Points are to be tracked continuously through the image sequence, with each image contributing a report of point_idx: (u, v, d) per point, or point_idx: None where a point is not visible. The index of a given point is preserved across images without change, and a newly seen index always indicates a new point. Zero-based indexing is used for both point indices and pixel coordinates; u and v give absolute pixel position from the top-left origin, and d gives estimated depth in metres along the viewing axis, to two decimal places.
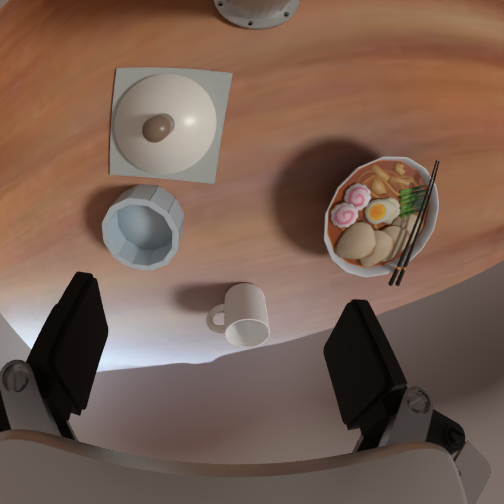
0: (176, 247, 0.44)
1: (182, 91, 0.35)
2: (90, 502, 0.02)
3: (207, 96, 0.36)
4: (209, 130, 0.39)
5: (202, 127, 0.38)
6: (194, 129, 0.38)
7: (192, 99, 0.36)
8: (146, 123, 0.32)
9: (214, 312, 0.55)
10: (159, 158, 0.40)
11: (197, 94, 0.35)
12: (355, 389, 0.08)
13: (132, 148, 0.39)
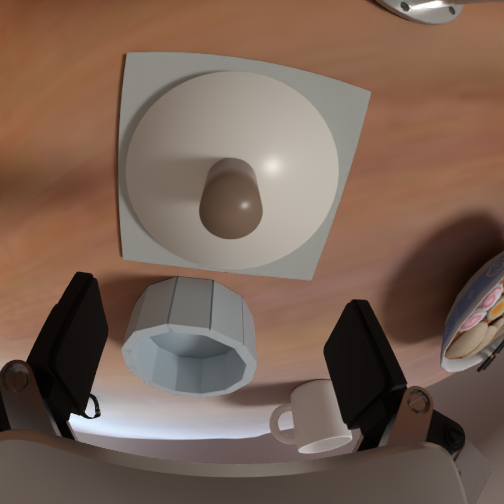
0: (249, 379, 0.27)
1: (278, 115, 0.17)
2: (90, 502, 0.02)
3: (327, 132, 0.18)
4: (323, 198, 0.21)
5: (311, 192, 0.21)
6: (295, 195, 0.21)
7: (296, 133, 0.18)
8: (210, 195, 0.15)
9: (279, 415, 0.39)
10: (222, 243, 0.23)
11: (308, 125, 0.18)
12: (355, 389, 0.08)
13: (166, 222, 0.21)
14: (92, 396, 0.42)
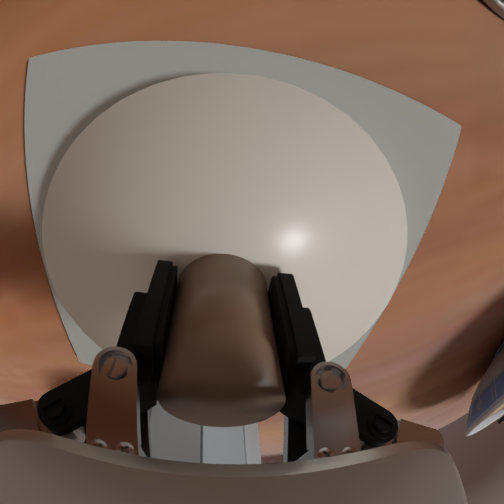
0: None
1: (314, 170, 0.09)
2: (90, 502, 0.02)
3: (398, 200, 0.10)
4: (373, 304, 0.12)
5: (356, 298, 0.12)
6: (331, 304, 0.12)
7: (346, 206, 0.10)
8: (175, 388, 0.06)
9: None
10: None
11: (369, 189, 0.09)
12: None
13: None
14: None
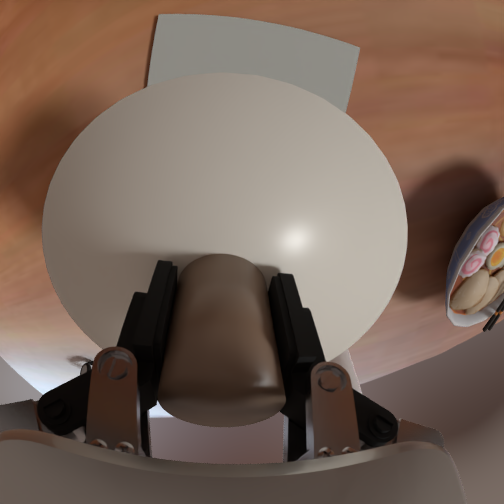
0: None
1: (314, 171, 0.09)
2: (90, 502, 0.02)
3: (399, 200, 0.10)
4: (373, 304, 0.12)
5: (356, 298, 0.12)
6: (331, 304, 0.12)
7: (346, 206, 0.10)
8: (176, 388, 0.06)
9: None
10: None
11: (369, 189, 0.09)
12: None
13: None
14: None
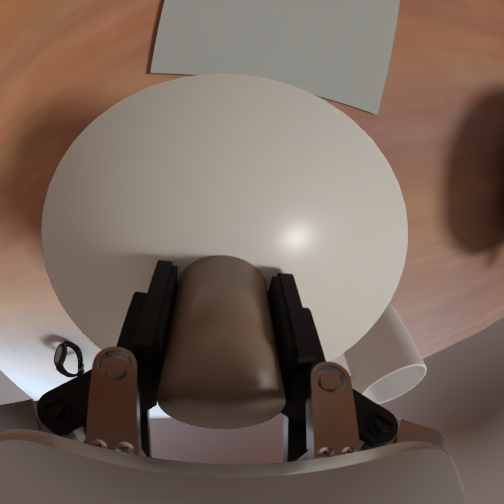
0: None
1: (314, 172, 0.09)
2: (90, 502, 0.02)
3: (399, 202, 0.09)
4: (373, 305, 0.12)
5: (356, 299, 0.12)
6: (331, 306, 0.12)
7: (346, 208, 0.09)
8: (175, 390, 0.06)
9: None
10: None
11: (369, 190, 0.09)
12: None
13: None
14: (75, 347, 0.34)
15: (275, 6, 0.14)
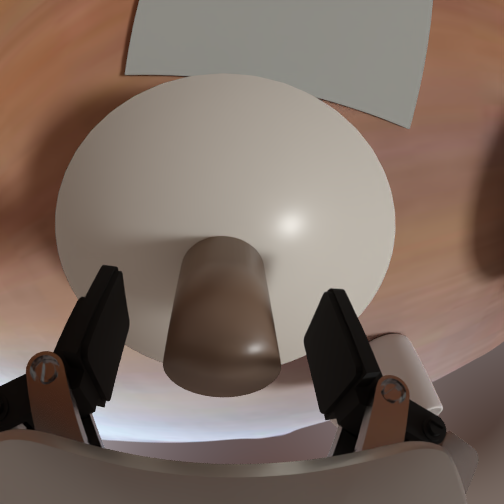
0: None
1: (305, 160, 0.10)
2: (90, 502, 0.02)
3: (385, 188, 0.10)
4: (365, 287, 0.13)
5: (348, 281, 0.13)
6: (325, 286, 0.13)
7: (336, 192, 0.10)
8: (180, 351, 0.07)
9: None
10: None
11: (356, 177, 0.10)
12: (330, 378, 0.09)
13: None
14: None
15: None
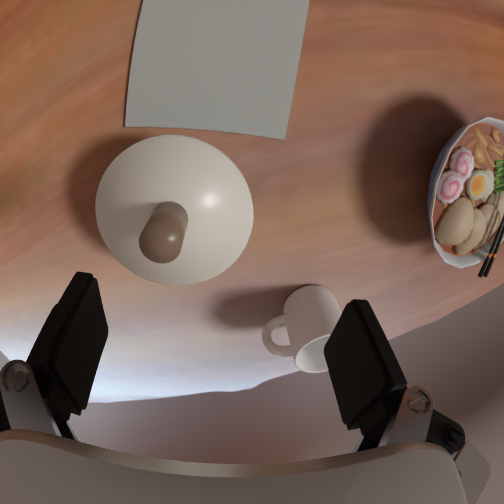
0: None
1: (198, 166, 0.24)
2: (90, 502, 0.02)
3: (238, 174, 0.25)
4: (243, 227, 0.27)
5: (232, 222, 0.27)
6: (219, 225, 0.27)
7: (213, 179, 0.25)
8: (144, 234, 0.21)
9: (272, 327, 0.40)
10: (169, 265, 0.29)
11: (222, 171, 0.24)
12: (355, 389, 0.08)
13: (127, 250, 0.28)
14: None
15: (203, 71, 0.25)
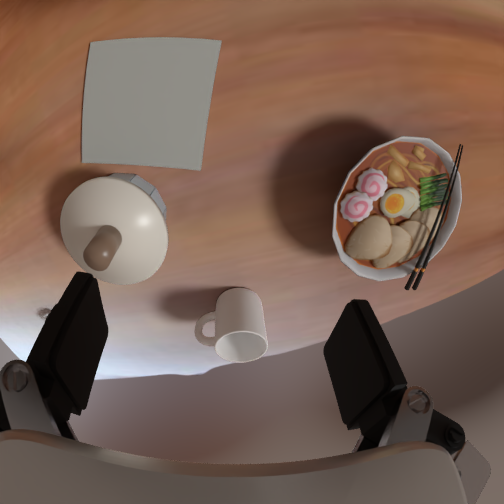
0: None
1: (123, 201, 0.31)
2: (90, 502, 0.02)
3: (152, 206, 0.32)
4: (160, 244, 0.35)
5: (152, 240, 0.34)
6: (143, 242, 0.34)
7: (135, 209, 0.32)
8: (86, 251, 0.29)
9: (204, 321, 0.48)
10: (113, 269, 0.36)
11: (140, 204, 0.32)
12: (355, 389, 0.08)
13: (84, 258, 0.35)
14: None
15: (134, 118, 0.32)
